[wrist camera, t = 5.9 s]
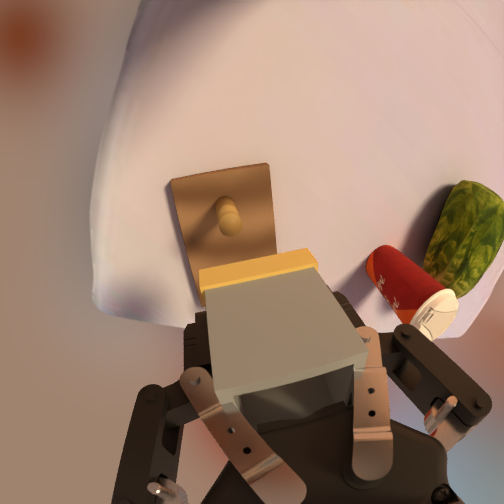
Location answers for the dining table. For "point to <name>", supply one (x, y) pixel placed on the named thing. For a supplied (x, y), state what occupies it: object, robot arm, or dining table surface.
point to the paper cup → (412, 292)
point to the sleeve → (278, 337)
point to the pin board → (206, 217)
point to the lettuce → (466, 237)
